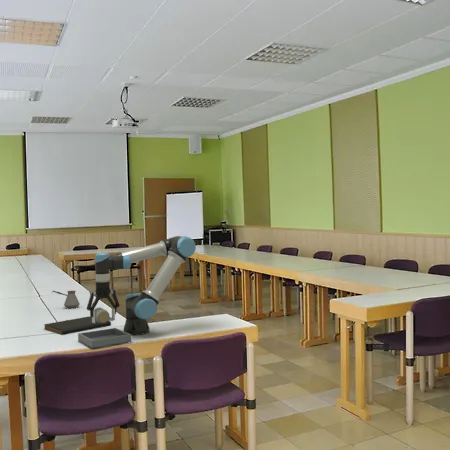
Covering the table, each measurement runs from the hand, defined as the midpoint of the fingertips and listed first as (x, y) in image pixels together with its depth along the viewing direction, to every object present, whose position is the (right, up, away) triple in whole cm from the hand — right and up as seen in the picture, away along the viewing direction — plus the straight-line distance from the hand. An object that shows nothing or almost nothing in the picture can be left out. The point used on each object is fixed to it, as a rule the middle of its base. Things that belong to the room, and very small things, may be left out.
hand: (103, 321), depth 285 cm
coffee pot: (-55, -11, +110) cm, 124 cm away
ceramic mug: (0, -1, 0) cm, 1 cm away
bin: (0, -11, 0) cm, 11 cm away
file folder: (-26, -12, +41) cm, 50 cm away
